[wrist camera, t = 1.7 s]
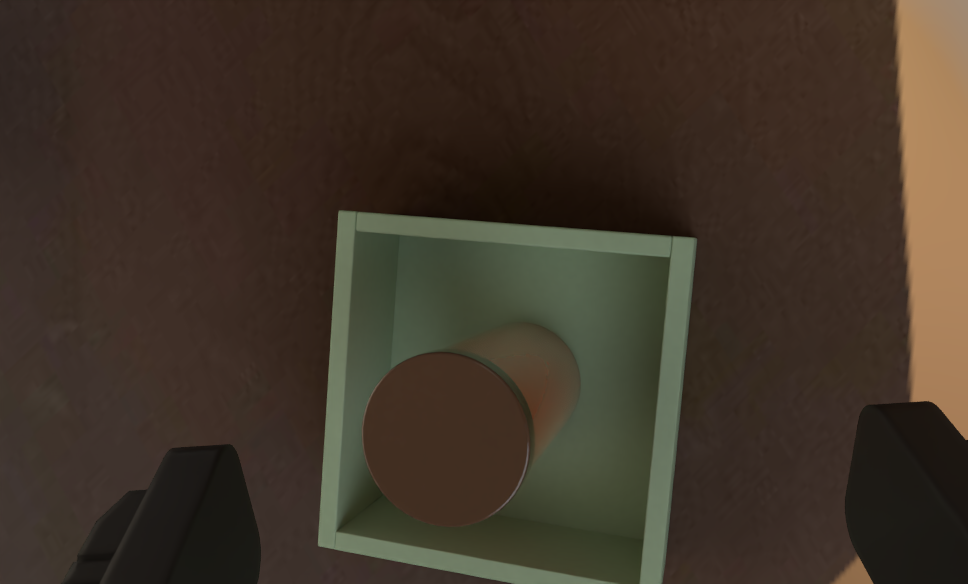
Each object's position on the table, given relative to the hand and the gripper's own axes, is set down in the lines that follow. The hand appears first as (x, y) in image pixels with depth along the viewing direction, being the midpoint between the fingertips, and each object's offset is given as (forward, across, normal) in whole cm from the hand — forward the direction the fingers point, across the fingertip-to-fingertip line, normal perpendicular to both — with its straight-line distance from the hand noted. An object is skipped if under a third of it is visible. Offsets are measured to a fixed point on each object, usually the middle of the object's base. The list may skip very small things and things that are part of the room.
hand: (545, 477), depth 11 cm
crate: (+20, 0, +12) cm, 23 cm away
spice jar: (+19, 0, +12) cm, 22 cm away
